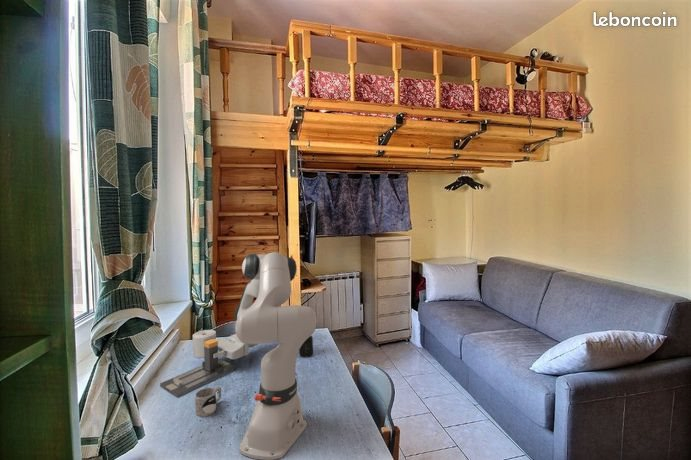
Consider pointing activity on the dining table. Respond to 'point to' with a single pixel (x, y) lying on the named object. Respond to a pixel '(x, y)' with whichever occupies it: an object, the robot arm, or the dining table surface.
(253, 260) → the robot arm
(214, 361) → the breaker handle
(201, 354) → the toilet tissue
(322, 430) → the dining table surface
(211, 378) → the breaker panel
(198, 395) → the mug
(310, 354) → the supplement bottle
